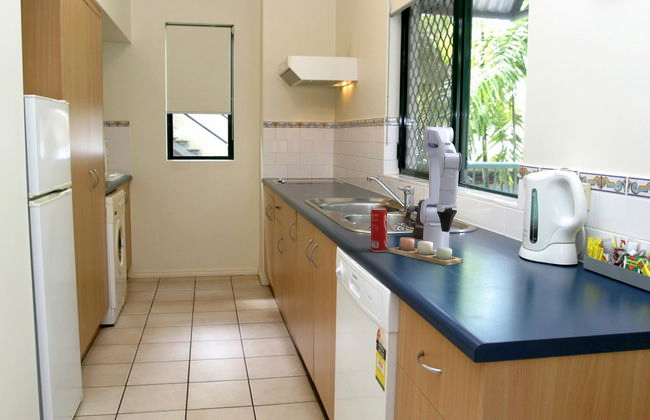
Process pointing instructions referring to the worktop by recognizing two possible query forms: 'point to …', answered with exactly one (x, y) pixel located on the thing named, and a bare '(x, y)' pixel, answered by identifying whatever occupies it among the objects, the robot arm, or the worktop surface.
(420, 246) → the button cream
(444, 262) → the wooden board
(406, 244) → the button terracotta
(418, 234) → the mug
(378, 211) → the beverage can
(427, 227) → the robot arm
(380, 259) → the worktop surface
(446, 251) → the button sage
